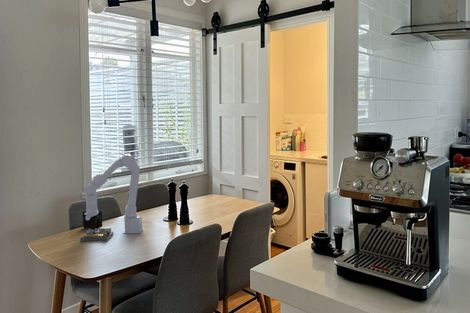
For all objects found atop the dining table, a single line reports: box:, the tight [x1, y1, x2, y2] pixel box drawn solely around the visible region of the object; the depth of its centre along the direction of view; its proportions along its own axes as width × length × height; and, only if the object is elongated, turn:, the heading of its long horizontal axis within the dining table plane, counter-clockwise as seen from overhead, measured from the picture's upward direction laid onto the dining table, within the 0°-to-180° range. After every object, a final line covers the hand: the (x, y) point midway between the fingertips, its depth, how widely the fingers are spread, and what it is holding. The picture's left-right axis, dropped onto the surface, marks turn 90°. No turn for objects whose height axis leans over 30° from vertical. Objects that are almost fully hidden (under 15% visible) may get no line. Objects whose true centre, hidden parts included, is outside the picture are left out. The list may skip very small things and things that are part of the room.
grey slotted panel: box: [80, 226, 114, 243], centre depth 218 cm, size 14×11×4 cm
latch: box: [85, 228, 94, 234], centre depth 219 cm, size 2×4×2 cm, turn 0°
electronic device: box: [82, 209, 103, 230], centre depth 239 cm, size 4×10×10 cm, turn 78°
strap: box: [82, 233, 108, 237], centre depth 215 cm, size 12×2×1 cm, turn 90°
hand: (92, 229), depth 225 cm, fingers closed
